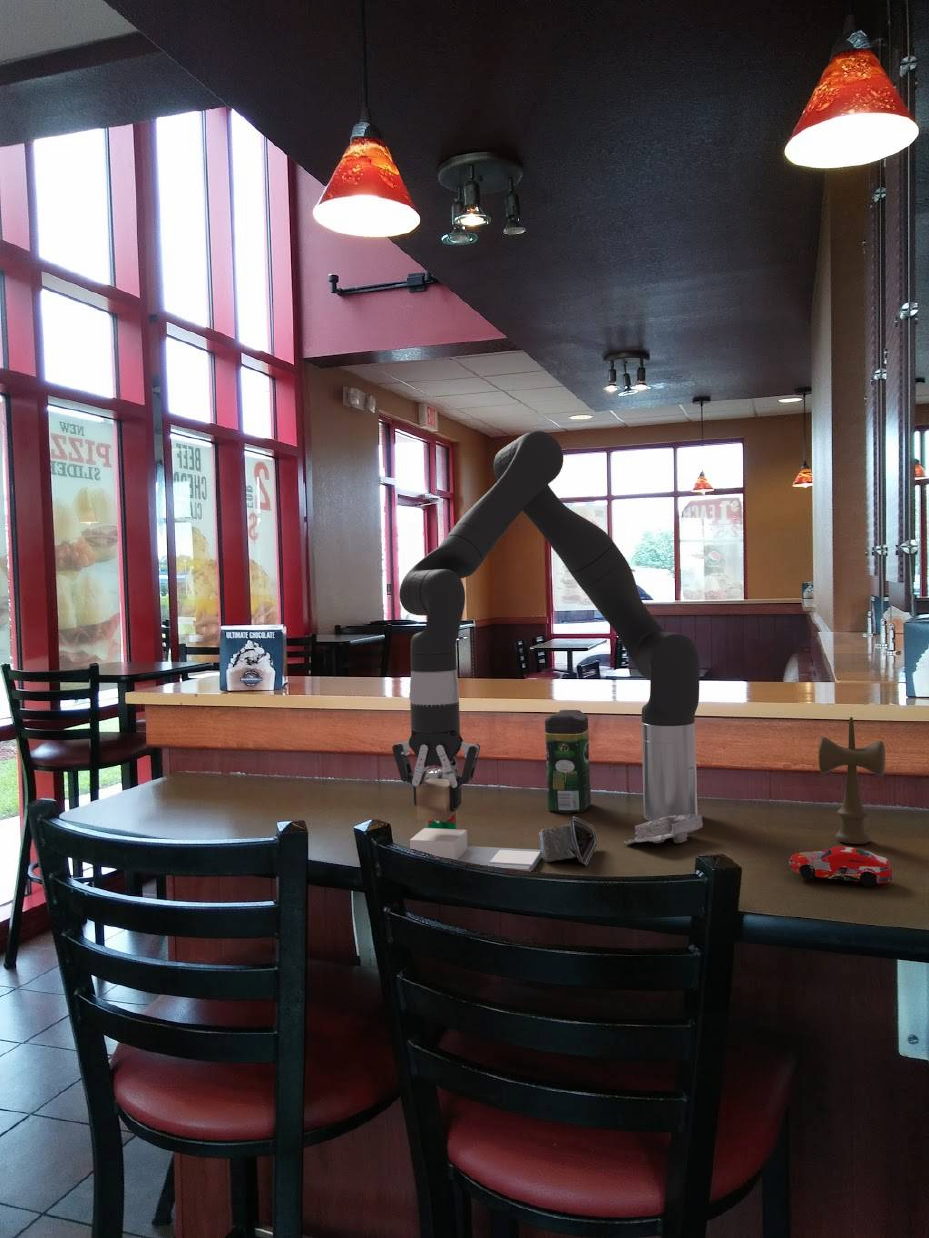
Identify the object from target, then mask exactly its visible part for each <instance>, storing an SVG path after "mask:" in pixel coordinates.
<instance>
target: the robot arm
mask: <svg viewBox="0 0 929 1238" xmlns="http://www.w3.org/2000/svg"><path fill="white" fill-rule="evenodd" d="M563 465H564V452H563V450H562V446H561V445H560V442H559V441H558V440H557V439H556V438H555V436H553V435H551V434H550V433H548V432H546V431H543V430H542V431H541V430H533V431H530V432H527V433H525V434H523V435H521V436H519V437H518V438H516V439H515V440H514V441H512V442H510V443H509V444H507V445H505V446H504V447H503V448H502V449H500V450H499V451H498V452H497V453H496V454H495V457H494V459H493V472H494V475H495V477H496V480H497V482H496V483H495V484H494V485H493V486H492V487H491V488H490V489H489V490H488V491H487V492H486V493H485V494H484V495H483V496H481V498H480V499H479V500H477V502H475V503H474V504H473V506H472V507H471V508H469V510H468V511H466V513H464V514H463V516H462V517H461V518H460V519H459V520H458V521H457V522H456V524H455V525H454V527H452V529H451V530H450V531H449V533H448V534H447V535H446V537H445V538H444V539H443V540H442V542H441V543H440V545H439V546H437V547H436V548H435V549H433V550H432V551H431V552H429V553H428V554H427V555H426V556H424V557H423V558H422V559H421V560H420V561H418V562H417V563H416V564H414V566H412V568H411V569H410V570H409V571H408V572H407V573H406V575H405V576H404V578H403V579H402V582H401V585H400V586H399V591H398V592H399V596H398V597H399V601H400V603H401V606H402V607H403V609H404V610H405V611H406V612H407V613H409V614H411V615H414V616H427V620H426V623H425V628H424V630H423V631H419V632H418V633H415V634H413V636H412V637H411V639H410V683H409V694H408V696H409V701H410V704H409V706H410V731H411V732H410V733H411V734H410V737H409V739H408V741H404V742H403V741H400V742H397V743H395V744H394V745H392V747H391V749H392V752H393V756H394V760H395V763H396V766H397V769H398V770H397V771H398V773H399V777H400V780H401V781H402V782H404V783H408V784H411V785H412V787H413V805H414V807H417V800H416V787H417V786H419V785H420V784H422V783H423V782H425V776H426V775H427V773H428V772H427V770H429V768H430V767H431V766H436V767H442V768H443V769H444V772H445V774H446V775H447V778H448V780H449V783H450V786H451V787H450V788H449V793H450V811H451V812H455V811H456V810H457V809H458V810H459V808H460V807H461V805H462V786H463V785H466V784H468V783H470V782H471V781H472V780H473V778H474V775H475V774H474V773H475V770H476V766H477V761H478V759H479V755H480V750H481V745H480V744H479V743H474V744H473V743H472V744H471V743H470V742H465V741H464V739H463V737H462V735H461V725H460V723H461V722H460V721H461V720H460V718H461V717H460V687H459V678H458V672H457V671H458V670H457V669H458V668H457V665H458V664H457V647H456V646H457V642H458V641H457V639H458V636H459V634H460V628H461V623H462V618H463V613H464V610H465V604H466V592H465V591H466V590H465V586H464V583H463V581H462V579H465V578H467V577H470V576H472V575H473V574H474V573H476V571H477V570H478V569H479V568H480V566H481V565H482V564H483V562H484V560H486V558H487V557H488V556H489V554H490V553H491V552H492V549H493V548H494V547H495V545H496V544H497V543H498V542H499V540H500V539H501V538H502V537H503V535H504V534H505V532H506V531H507V530H508V528H509V527H510V525H512V523H513V522H514V521H515V520H516V518H517V517H518V516H519V514H521V512H523V513H524V515H525V516H526V517H527V518H528V519H529V520H530V522H531V523H532V524H534V525H533V526H534V527H536V529H537V530H538V531H539V532H540V534H541V535H542V537H544V539H545V540H546V542H547V543H548V545H549V546H550V547H551V549H553V551H554V552H555V553H556V554H557V556H558V557H559V558H560V560H561V561H562V563H563V564H564V566H565V567H566V568H567V571H568V572H569V573H570V575H571V576H572V578H573V579H574V580H575V582H576V583H577V584H578V586H579V587H580V589H581V590H582V591H583V592H584V593H585V595H587V597H588V598H589V600H590V601H591V603H592V604H593V605H594V607H595V608H596V610H597V611H598V613H600V614H601V615H602V617H603V619H605V620H606V622H607V623H608V624H609V625H610V627H611V628H612V630H613V631H614V633H615V634H616V637H618V639H619V641H620V642H621V645H622V646H623V649H624V650H625V651H626V654H627V655H628V657H629V659H630V660H631V662H632V665H634V667H635V668H636V670H637V672H638V673H639V674H640V675H641V676H642V677H644V678H645V679H646V680H649V681H650V683H649V684H650V685H649V688H650V689H649V699H648V700H647V703H646V704H644V705H643V706H642V708H641V745H642V746H641V749H642V750H641V751H642V752H641V754H642V794H643V796H642V797H643V798H642V799H643V805H642V806H643V818H644V819H645V820H646V821H647V822H649V821H653V820H658V819H659V818H663V817H666V816H673V815H688V814H689V815H691V814H696V815H698V789H697V788H698V785H697V783H698V781H697V780H698V779H697V777H698V776H697V761H696V724H695V723H696V717H695V716H696V712H697V709H698V706H699V702H700V678H701V677H700V676H701V675H700V671H701V670H700V669H701V667H700V665H701V664H700V656H699V651H698V648H697V646H696V644H695V641H693V640H692V639H691V638H690V637H689V636H687V635H685V634H683V633H680V632H679V633H678V632H672V631H671V632H670V631H666V630H665V629H664V628H663V627H662V626H661V625H660V624H659V622H658V621H657V620H656V618H654V616H653V615H652V614H651V612H650V611H649V610H648V608H647V607H646V606H645V604H644V602H643V600H642V597H641V596H640V593H639V590H638V586H637V582H636V579H635V576H634V574H633V571H632V568H631V566H630V564H629V562H628V560H627V559H626V557H625V556H624V554H623V553H622V551H621V550H620V549H619V547H618V546H617V545H616V543H615V542H614V540H613V539H612V538H611V537H610V535H609V534H608V533H607V532H606V531H604V530H603V529H602V528H600V527H599V526H598V525H597V524H595V523H594V522H592V521H590V520H588V519H587V518H586V517H584V516H581V515H580V514H578V513H576V512H575V511H573V510H572V509H571V508H569V507H568V506H566V505H565V503H563V501H561V500H560V498H559V497H558V496H557V495H556V494H555V492H554V491H553V489H551V486H550V485H549V484H551V483H552V482H553V481H554V480H555V479H556V478H557V477H558V476H559V474H560V473H561V471H562V468H563ZM410 749H411V750H412V752H413V754H414V755H415V756H416V758H417V760H416V763H415V767H414V772H413V768H412V765H411V762H410V759H409V755H410ZM461 750H462V753H463V754H462V755H463V757H464V758H465V762H464V765H463V769H462V774H460V771H459V765H458V762H457V759H456V757H457V755H458V753H459V751H461Z"/></svg>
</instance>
